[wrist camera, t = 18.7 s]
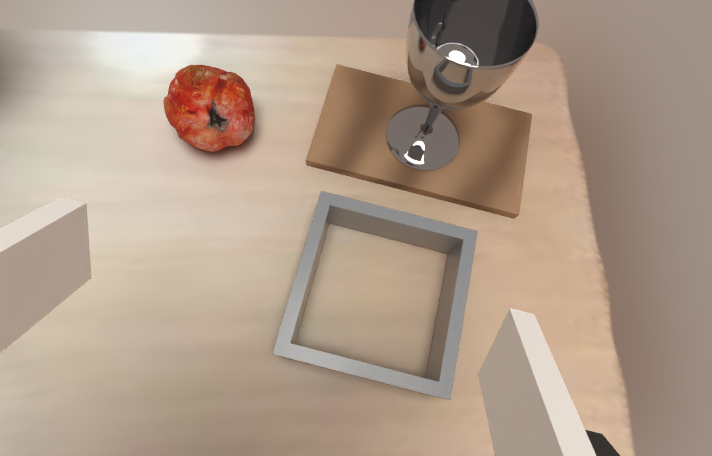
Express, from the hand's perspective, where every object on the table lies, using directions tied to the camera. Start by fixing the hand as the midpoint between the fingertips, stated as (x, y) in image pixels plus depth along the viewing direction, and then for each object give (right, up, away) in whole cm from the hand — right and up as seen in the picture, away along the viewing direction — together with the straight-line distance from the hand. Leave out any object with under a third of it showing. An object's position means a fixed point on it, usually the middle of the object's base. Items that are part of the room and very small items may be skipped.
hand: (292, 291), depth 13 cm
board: (+8, +10, +29) cm, 31 cm away
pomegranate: (-11, +11, +28) cm, 32 cm away
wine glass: (+8, +11, +28) cm, 31 cm away
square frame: (+4, -4, +23) cm, 24 cm away
